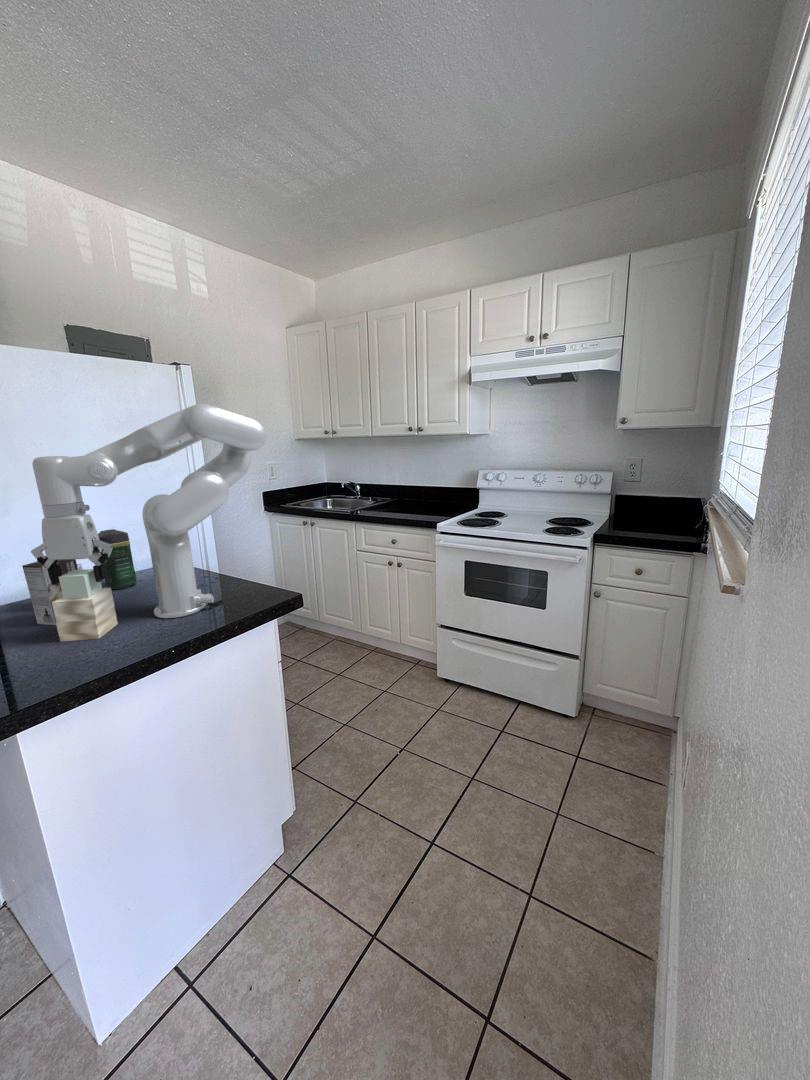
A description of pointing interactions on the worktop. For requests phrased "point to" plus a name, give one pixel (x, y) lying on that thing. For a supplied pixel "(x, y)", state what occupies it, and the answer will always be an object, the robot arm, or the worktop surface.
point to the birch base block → (87, 627)
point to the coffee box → (45, 589)
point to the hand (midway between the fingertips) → (79, 581)
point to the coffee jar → (118, 560)
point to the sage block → (79, 584)
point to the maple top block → (83, 607)
